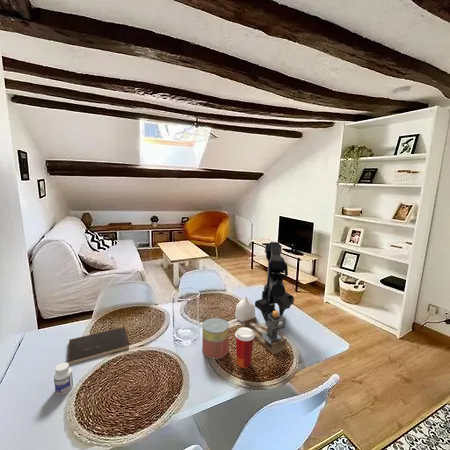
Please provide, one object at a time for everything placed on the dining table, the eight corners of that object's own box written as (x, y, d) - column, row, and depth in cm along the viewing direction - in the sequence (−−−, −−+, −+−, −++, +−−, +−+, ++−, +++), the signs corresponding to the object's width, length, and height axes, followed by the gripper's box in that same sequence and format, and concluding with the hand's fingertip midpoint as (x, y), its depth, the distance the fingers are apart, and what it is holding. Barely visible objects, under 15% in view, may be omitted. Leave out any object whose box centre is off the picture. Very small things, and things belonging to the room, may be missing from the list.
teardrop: (242, 324, 132) (243, 302, 130) (231, 314, 141) (231, 294, 139) (259, 319, 137) (260, 298, 135) (247, 309, 147) (248, 290, 145)
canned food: (210, 339, 119) (210, 315, 117) (232, 346, 114) (232, 322, 112) (197, 353, 109) (197, 327, 107) (220, 362, 104) (221, 335, 102)
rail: (243, 328, 128) (244, 320, 127) (254, 324, 132) (255, 316, 131) (273, 354, 110) (274, 344, 109) (285, 349, 113) (286, 339, 112)
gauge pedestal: (265, 324, 132) (265, 315, 131) (275, 320, 136) (275, 312, 135) (274, 331, 126) (275, 322, 125) (285, 327, 130) (285, 318, 129)
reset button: (271, 319, 131) (271, 311, 130) (275, 317, 133) (275, 310, 132) (275, 321, 128) (275, 314, 128) (279, 320, 130) (280, 312, 129)
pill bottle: (60, 383, 91) (58, 361, 90) (75, 382, 92) (74, 360, 90) (52, 395, 86) (49, 372, 85) (68, 394, 87) (66, 371, 85)
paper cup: (253, 357, 107) (254, 327, 105) (253, 371, 100) (254, 338, 97) (234, 356, 108) (235, 325, 105) (233, 369, 100) (234, 337, 98)
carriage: (261, 339, 116) (262, 325, 115) (272, 335, 120) (273, 321, 118) (270, 347, 111) (271, 332, 110) (281, 342, 115) (282, 328, 113)
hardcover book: (129, 349, 111) (129, 344, 111) (67, 366, 100) (67, 361, 100) (124, 330, 125) (124, 326, 124) (69, 343, 114) (69, 338, 113)
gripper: (272, 299, 102) (269, 333, 105) (304, 289, 112) (301, 321, 115) (254, 288, 112) (253, 320, 115) (285, 280, 121) (283, 310, 124)
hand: (273, 318), depth 117 cm, fingers open, 9 cm apart
